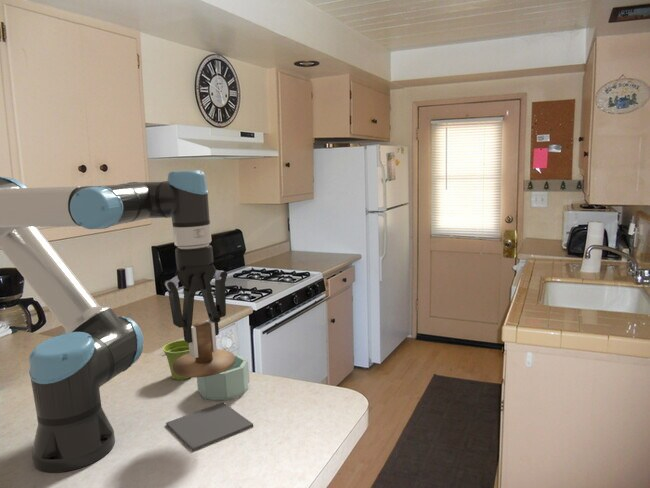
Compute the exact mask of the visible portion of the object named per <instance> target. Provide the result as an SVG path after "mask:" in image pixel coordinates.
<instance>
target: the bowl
mask: <svg viewBox="0 0 650 488" xmlns="http://www.w3.org/2000/svg"><path fill="white" fill-rule="evenodd" d="M234 355H235V364H234V365H233V366H232V367H231V368H230V369H228V370H226V371H224V372H222V373H219V374H216V375H212V376H207V377H196V382H197V391H198V392H199V394H200V396H201V397H202V398H203V399H204V400H208V401H211V402H212V401H213V402H215V401H216V402H218V401H219V402H220V401H221V402H223V401H228V400H229V401H230V400H232V399H235V398H236V399H237V398H239V397H240V396H243V395H244V394H245V393H247V392H248V389H249V384H250V370H249V360H248V359H247V358H245V357H243V356H242V355H240V354H234Z"/></svg>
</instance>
